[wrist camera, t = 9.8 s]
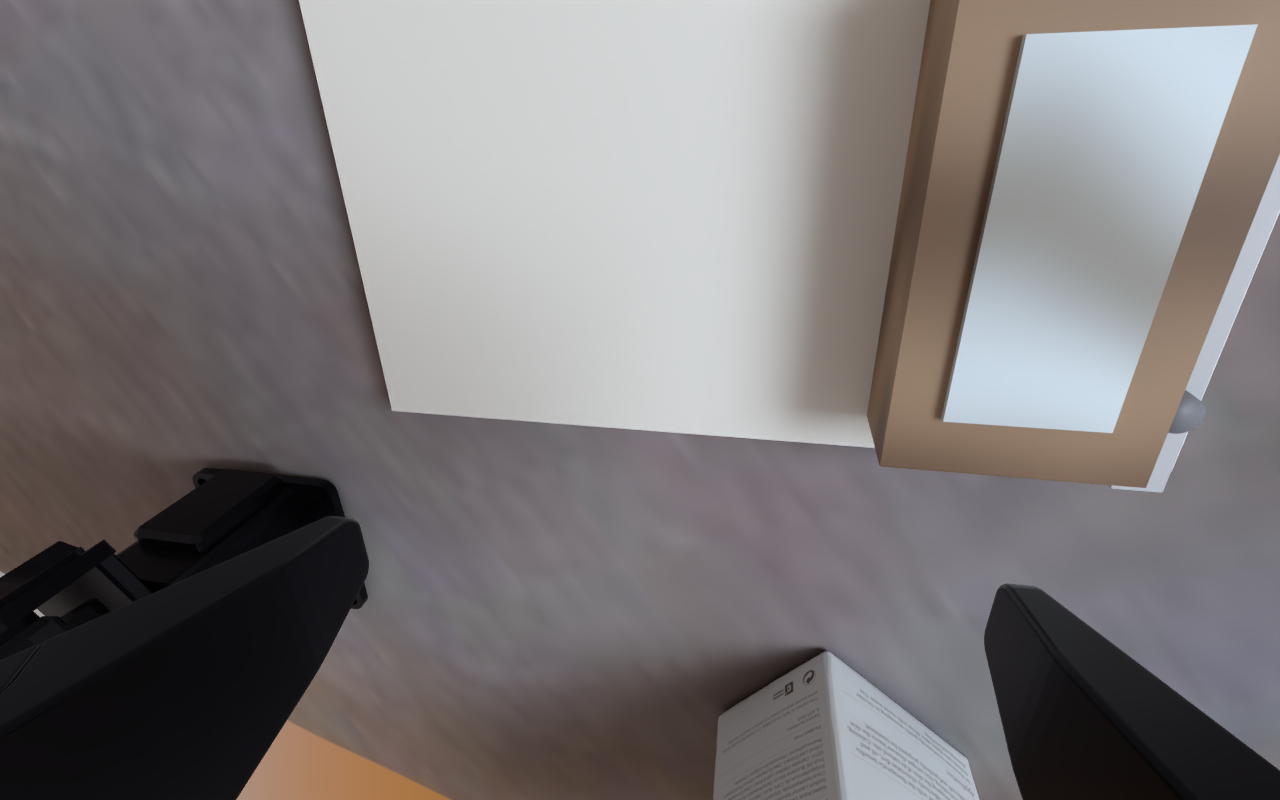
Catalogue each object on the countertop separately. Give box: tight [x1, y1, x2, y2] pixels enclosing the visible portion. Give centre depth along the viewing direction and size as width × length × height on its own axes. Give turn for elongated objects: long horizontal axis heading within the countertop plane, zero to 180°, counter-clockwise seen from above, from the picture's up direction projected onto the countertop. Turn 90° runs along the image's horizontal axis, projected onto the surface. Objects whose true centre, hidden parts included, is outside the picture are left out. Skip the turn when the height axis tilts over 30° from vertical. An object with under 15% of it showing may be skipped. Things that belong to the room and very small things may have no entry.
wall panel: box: [299, 0, 1280, 492], centre depth 16 cm, size 13×24×2 cm, turn 92°
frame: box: [867, 0, 1280, 488], centre depth 14 cm, size 11×6×3 cm, turn 2°
